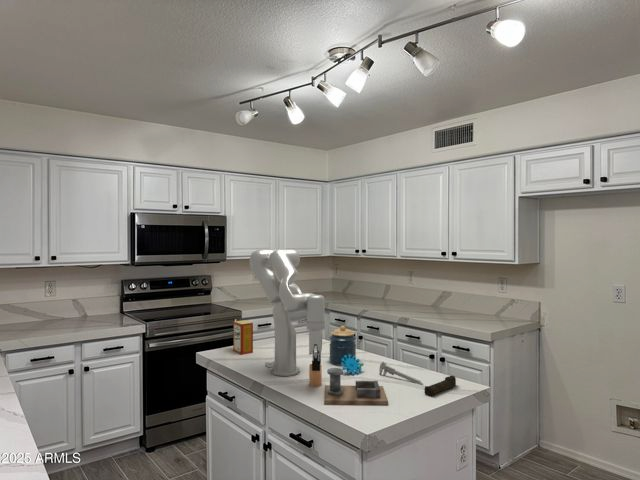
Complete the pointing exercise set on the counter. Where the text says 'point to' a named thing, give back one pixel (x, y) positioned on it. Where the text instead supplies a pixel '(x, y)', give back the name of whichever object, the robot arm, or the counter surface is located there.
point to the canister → (341, 345)
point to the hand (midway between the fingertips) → (316, 367)
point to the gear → (351, 364)
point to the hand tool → (440, 386)
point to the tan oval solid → (315, 377)
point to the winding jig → (353, 391)
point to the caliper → (396, 373)
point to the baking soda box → (243, 337)
